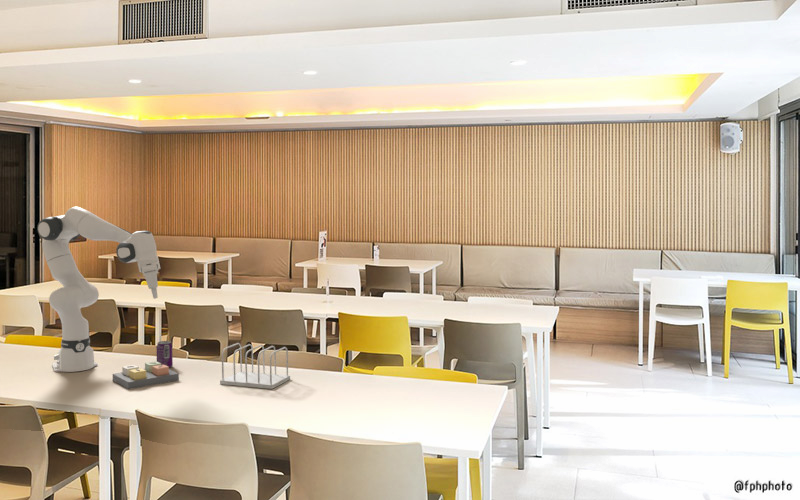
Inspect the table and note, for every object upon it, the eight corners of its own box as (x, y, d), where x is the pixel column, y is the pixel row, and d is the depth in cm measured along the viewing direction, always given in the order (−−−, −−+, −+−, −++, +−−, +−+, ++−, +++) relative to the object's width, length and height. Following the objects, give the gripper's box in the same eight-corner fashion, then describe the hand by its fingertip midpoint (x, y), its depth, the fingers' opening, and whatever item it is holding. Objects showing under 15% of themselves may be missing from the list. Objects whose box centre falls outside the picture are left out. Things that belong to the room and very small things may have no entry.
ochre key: (129, 377, 291) (129, 369, 290) (141, 375, 294) (141, 367, 294) (134, 379, 287) (134, 372, 287) (146, 377, 290) (146, 370, 290)
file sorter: (290, 379, 301) (290, 345, 300) (272, 390, 285) (272, 353, 284) (240, 375, 309) (240, 341, 307) (219, 384, 292) (219, 349, 291)
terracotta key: (152, 373, 297) (152, 365, 297) (163, 371, 301) (163, 364, 301) (157, 375, 294) (157, 368, 293) (168, 373, 297) (168, 366, 297)
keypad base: (112, 380, 296) (112, 373, 296) (161, 372, 311) (161, 365, 311) (128, 389, 283) (128, 382, 283) (178, 380, 298) (178, 373, 298)
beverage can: (175, 365, 323) (174, 340, 323) (168, 369, 316) (168, 344, 316) (160, 365, 324) (160, 340, 323) (154, 368, 317) (153, 343, 316)
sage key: (145, 370, 303) (144, 362, 303) (156, 368, 307) (156, 360, 307) (149, 372, 299) (149, 364, 299) (161, 370, 303) (161, 362, 303)
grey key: (122, 373, 296) (122, 366, 296) (134, 371, 300) (134, 364, 300) (127, 376, 293) (126, 368, 292) (138, 374, 296) (138, 366, 296)
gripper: (142, 267, 306) (148, 297, 307) (141, 268, 287) (147, 300, 287) (156, 265, 308) (162, 294, 309) (156, 265, 289) (163, 297, 290)
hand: (155, 297), depth 298 cm, fingers open, 8 cm apart
